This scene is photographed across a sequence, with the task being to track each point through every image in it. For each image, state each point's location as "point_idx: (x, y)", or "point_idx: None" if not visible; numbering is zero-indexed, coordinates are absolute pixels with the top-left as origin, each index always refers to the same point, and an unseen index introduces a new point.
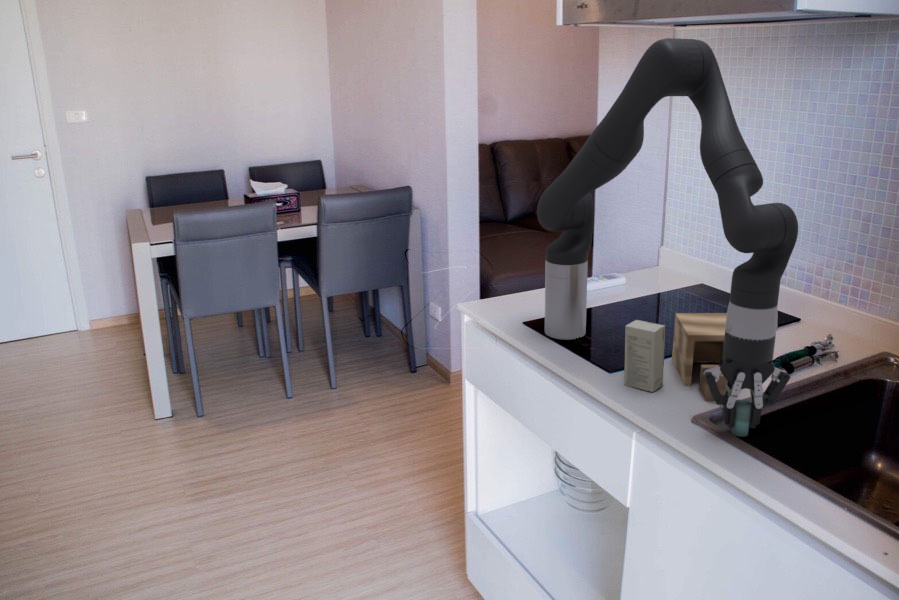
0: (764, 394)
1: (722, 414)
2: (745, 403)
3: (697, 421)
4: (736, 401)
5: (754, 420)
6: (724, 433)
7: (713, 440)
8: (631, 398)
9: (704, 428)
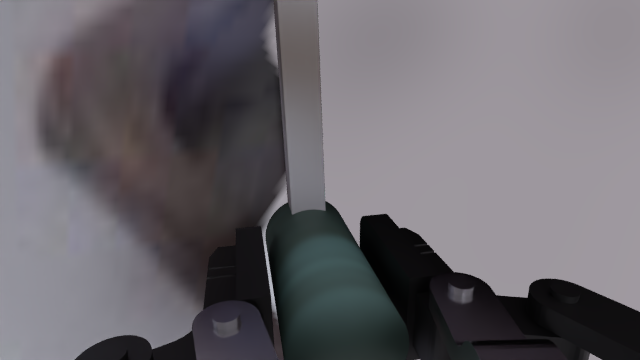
0: (552, 338)
1: (208, 271)
2: (366, 357)
3: (82, 131)
4: (306, 337)
5: None
6: None
7: (160, 323)
8: None
9: (122, 212)
